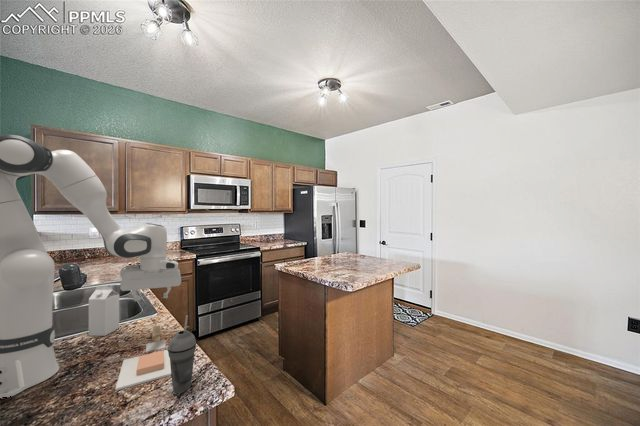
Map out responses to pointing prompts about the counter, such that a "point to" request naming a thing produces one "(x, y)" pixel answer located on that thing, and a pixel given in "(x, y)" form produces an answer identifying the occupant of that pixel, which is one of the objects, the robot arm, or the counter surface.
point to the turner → (155, 341)
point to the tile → (150, 362)
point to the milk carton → (103, 311)
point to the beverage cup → (182, 359)
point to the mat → (131, 378)
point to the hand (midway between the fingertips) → (151, 299)
